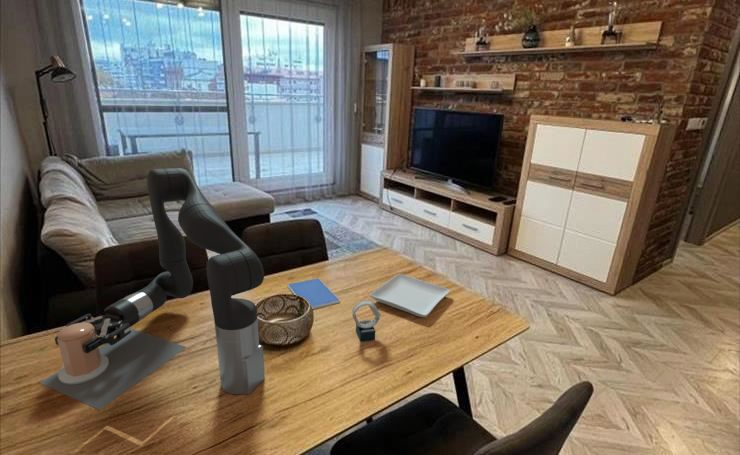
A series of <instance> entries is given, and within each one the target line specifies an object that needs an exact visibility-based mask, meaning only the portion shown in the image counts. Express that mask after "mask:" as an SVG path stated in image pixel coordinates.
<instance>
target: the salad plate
mask: <svg viewBox="0 0 740 455" xmlns="http://www.w3.org/2000/svg"><path fill="white" fill-rule="evenodd" d="M450 293H451V289H450V288H446V287H444V286H442V285H441V286H440V285H437V284H434V283H431V282H429V281H425V280H421V279H418V278H415V277H412V276H408V275H405V274H402V273H398V274H396V275H394V276H393V277H392V278H390V279H388V281H386V282H384V283H383V284H382V285H380V286H379V287H378V288H376V289H375V290H374V291H372V292H371V293H369V296H370V298H372V299H373V300H375V301H376V302H378V303H381V304H384V305H387V306H389V307H391V308H395V309H397V310H401V311H403V312H406V313H409V314H412V315H413V316H417V317H420V318H425V317H427V316H428V315H429V314H430V313H432V311H433V310H434V308H435V307H437V305H438V304H439V303H440V302H441V301H442V300H443V299H444V298H446V296H447V295H448V294H450Z"/></svg>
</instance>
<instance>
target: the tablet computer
mask: <svg viewBox="0 0 740 455" xmlns="http://www.w3.org/2000/svg"><path fill="white" fill-rule="evenodd" d="M286 287H287V288H288V290H289V291H290V292H291V294H293V296H294V295H297V296H301V297H303V298H305V299H306V300H307V301H308V302H309V304H310V305H311V307H312V308H313V310H315V309H320V308H324V307H328V306H332V305H336V304H340V303H341V300H340V298H339V297H337V295H336V294H335V293H334V292H333V291H332V290H331V289H330V288H329V287H328V286H327V285H326V284H325V283H324V282H323V281H322V280H321V279H320V278H318V277H317V278H316V277H315V278H312V279H308V280H303V281H297V282H292V283H288V284H287V285H286Z"/></svg>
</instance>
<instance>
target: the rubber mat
mask: <svg viewBox="0 0 740 455" xmlns="http://www.w3.org/2000/svg"><path fill="white" fill-rule="evenodd" d="M186 348H187V349H188V347H187V346H184V345H182V344H179V343H176V342H173V341H170V340H167V339H163V338H162V337H159V336H155V335H152V334H149V333H146V332H143V331H140V330H137V329H134V328H132V329H131V333H130V334H128V335H127V336H125V337H124V338H123V339H121V340H120V341H118V342H117V343H116V344H114V345H110V344H109V343H107V344H106V345H101V346H99V352H100V354H102V355H105V356H106V357H107V358H108V361H109V366H108V368H107V370H106V371H105V372H104V373H103V374H101V375H100V376H98V377H97V378H95V379H93V380H91V381H88V382H85V383H81V384H76V385H66V384H63V383H61V382H60V381H59V378H58V372H59V371H57V372H55V373H54V374H51V376H48V377H47V378H45V379H43V380H41V381H40V382H39V384H41V385H43V386H45V387H47V388H49V389H51V390H54V391H56V392H58V393H60V394H62V395H65V396H67V397H70V398H72V399H74V400H76V401H78V402H80V403H83V404H84V405H87V406H89V407H92V408H94V409H96V410H98V411H100V410H101V409H103V408H104V407H106V406H108V405H109V404H110V403H111V402H113V401H114V400H116V399H117V398H118V397H119V396H121V395H123V394H124V393H126V392H127V391H128V390H130V389H131V388H132V387H134V386H135V385H136V384H138V383H140V382H141V381H142V380H144V379H145V378H146V377H147V376H149V375H151V374H152V373H153V372H155V371H156V370H157V369H159V368H160V367H161V366H163V365H164V364H166V363H167V362H169V361H170V360H172V359H173V358H174V357H176V355H179V353H181V352H183V351H184V350H185V349H186Z"/></svg>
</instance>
